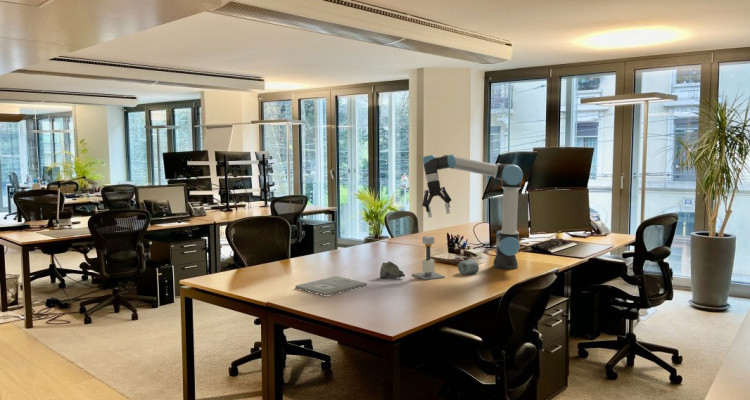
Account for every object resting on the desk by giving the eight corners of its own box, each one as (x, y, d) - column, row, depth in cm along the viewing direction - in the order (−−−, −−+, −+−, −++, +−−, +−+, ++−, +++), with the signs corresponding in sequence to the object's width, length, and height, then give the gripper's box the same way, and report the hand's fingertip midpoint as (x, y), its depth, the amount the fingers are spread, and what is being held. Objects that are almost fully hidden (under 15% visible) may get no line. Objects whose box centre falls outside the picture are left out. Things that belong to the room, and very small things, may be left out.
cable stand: (411, 275, 335) (412, 236, 333) (432, 272, 341) (432, 234, 338) (423, 280, 322) (423, 239, 320) (444, 277, 328) (445, 237, 326)
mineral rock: (406, 279, 326) (406, 262, 325) (392, 282, 319) (392, 264, 318) (390, 275, 336) (390, 258, 335) (377, 278, 329) (377, 261, 328)
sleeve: (422, 271, 333) (422, 259, 332) (429, 270, 335) (429, 258, 334) (426, 272, 328) (426, 260, 327) (434, 271, 330) (434, 260, 329)
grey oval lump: (464, 271, 329) (463, 255, 333) (455, 276, 337) (453, 260, 341) (483, 274, 335) (481, 258, 339) (473, 279, 343) (472, 263, 347)
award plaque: (366, 286, 311) (366, 282, 311) (326, 297, 289) (326, 293, 289) (336, 279, 327) (336, 275, 327) (295, 289, 306) (295, 285, 305)
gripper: (445, 178, 352) (452, 212, 351) (412, 184, 339) (419, 219, 339) (453, 177, 345) (459, 211, 345) (419, 183, 333) (426, 218, 333)
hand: (439, 215), depth 342 cm, fingers open, 13 cm apart
